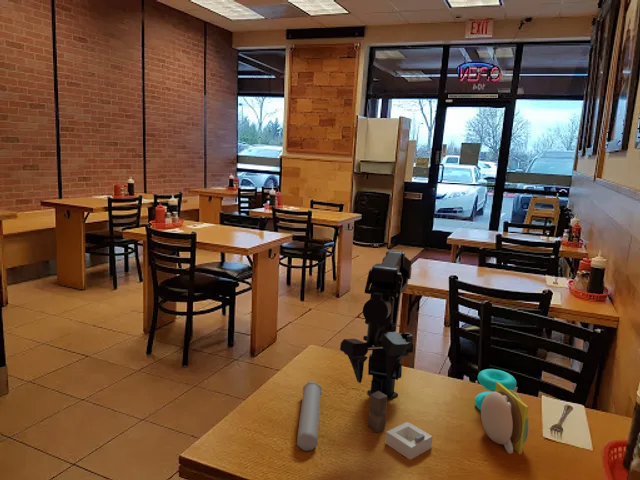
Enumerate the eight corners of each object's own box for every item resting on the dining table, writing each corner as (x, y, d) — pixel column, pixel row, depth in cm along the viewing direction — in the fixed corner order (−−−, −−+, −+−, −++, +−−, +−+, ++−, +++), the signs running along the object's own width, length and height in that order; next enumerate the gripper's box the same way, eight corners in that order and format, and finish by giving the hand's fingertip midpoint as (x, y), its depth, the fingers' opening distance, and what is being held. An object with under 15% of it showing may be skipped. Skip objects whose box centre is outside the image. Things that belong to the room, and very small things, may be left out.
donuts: (517, 371, 133) (517, 387, 124) (512, 405, 134) (512, 422, 125) (479, 364, 136) (477, 378, 127) (475, 396, 138) (473, 413, 129)
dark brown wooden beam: (376, 423, 121) (378, 390, 120) (384, 429, 119) (387, 395, 117) (367, 427, 119) (370, 394, 118) (376, 433, 117) (379, 399, 116)
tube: (322, 439, 107) (324, 385, 132) (300, 431, 107) (306, 378, 131) (313, 459, 108) (317, 402, 133) (291, 451, 108) (299, 395, 132)
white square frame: (406, 432, 118) (407, 417, 117) (431, 447, 112) (432, 432, 112) (385, 443, 113) (386, 427, 112) (410, 459, 107) (411, 443, 107)
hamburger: (472, 426, 122) (477, 383, 120) (501, 424, 124) (507, 381, 122) (498, 455, 111) (504, 408, 109) (530, 453, 112) (537, 406, 110)
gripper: (370, 325, 104) (363, 396, 105) (432, 323, 114) (425, 388, 115) (342, 315, 114) (335, 380, 114) (401, 314, 124) (395, 374, 124)
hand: (374, 380), depth 116 cm, fingers open, 9 cm apart
